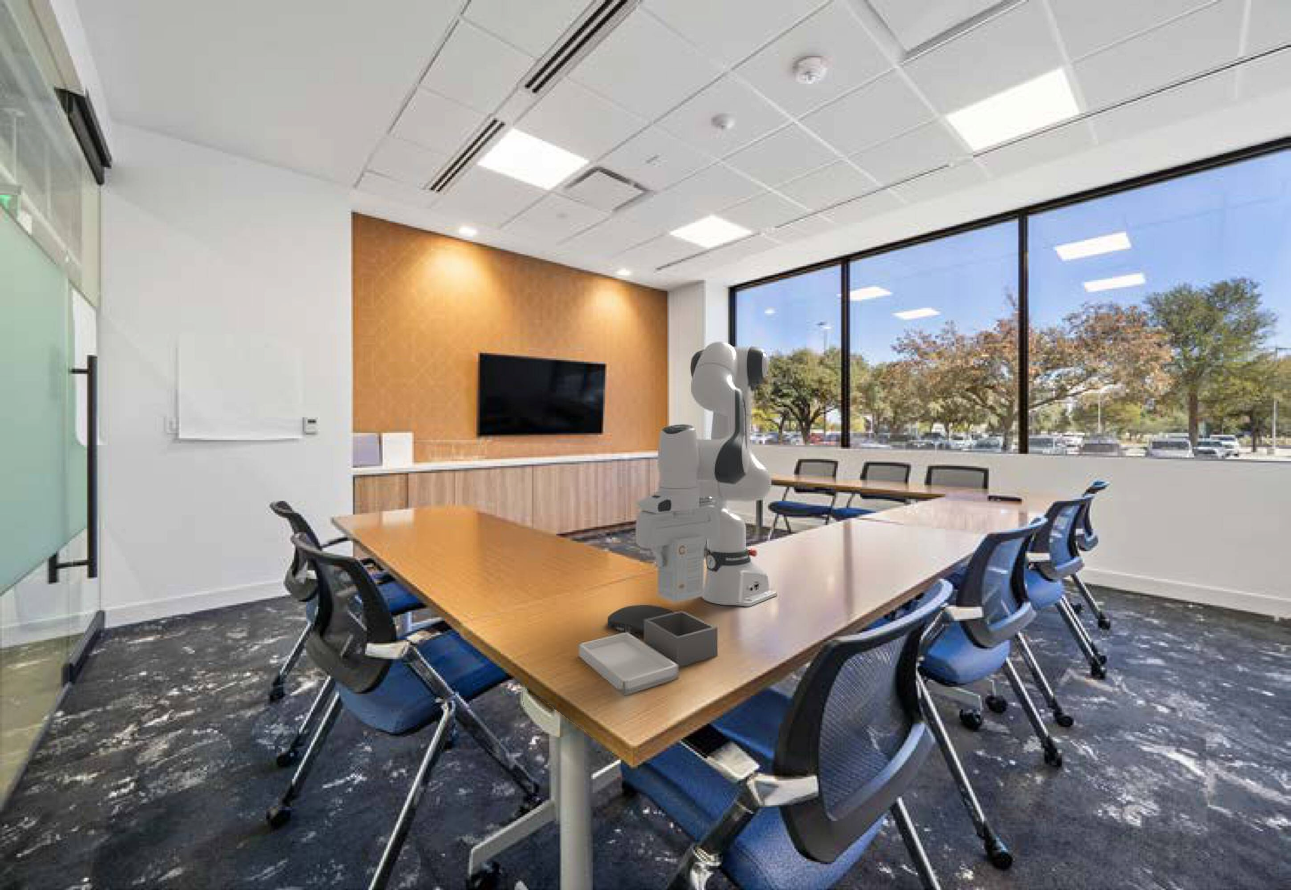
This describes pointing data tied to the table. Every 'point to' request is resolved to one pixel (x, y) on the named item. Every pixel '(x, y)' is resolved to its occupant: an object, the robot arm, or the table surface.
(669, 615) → the box
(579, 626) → the table surface
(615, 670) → the tray
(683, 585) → the small box
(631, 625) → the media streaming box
